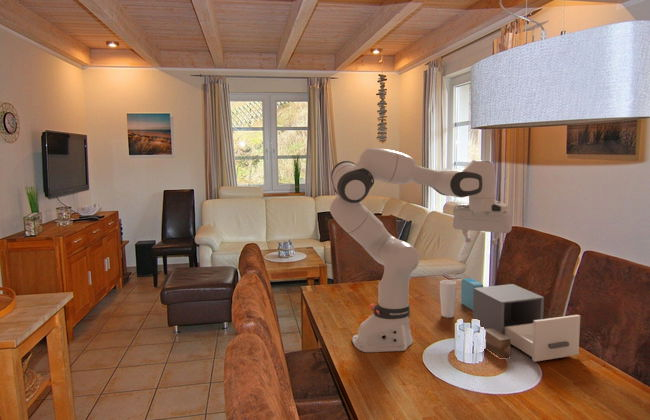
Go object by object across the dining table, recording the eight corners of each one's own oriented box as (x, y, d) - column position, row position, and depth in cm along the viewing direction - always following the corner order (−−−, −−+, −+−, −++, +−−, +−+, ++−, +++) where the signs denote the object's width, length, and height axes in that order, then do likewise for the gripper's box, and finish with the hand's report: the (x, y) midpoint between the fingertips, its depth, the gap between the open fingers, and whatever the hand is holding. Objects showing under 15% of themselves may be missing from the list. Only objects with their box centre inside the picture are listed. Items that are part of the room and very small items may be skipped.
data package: (483, 311, 200) (484, 284, 198) (473, 311, 199) (474, 285, 197) (469, 302, 211) (470, 277, 210) (460, 303, 211) (461, 278, 209)
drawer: (537, 363, 148) (538, 323, 146) (500, 340, 166) (501, 304, 164) (581, 356, 152) (583, 317, 150) (540, 334, 170) (542, 299, 168)
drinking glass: (457, 314, 196) (457, 280, 194) (454, 319, 190) (454, 285, 188) (441, 312, 199) (441, 279, 197) (438, 317, 193) (438, 283, 191)
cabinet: (500, 343, 166) (501, 302, 164) (472, 325, 183) (473, 288, 181) (542, 337, 170) (544, 297, 168) (511, 320, 187) (512, 283, 185)
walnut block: (499, 360, 153) (500, 340, 152) (482, 347, 163) (482, 329, 162) (510, 358, 154) (510, 338, 153) (492, 346, 164) (492, 327, 163)
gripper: (450, 204, 166) (450, 242, 168) (508, 207, 154) (507, 247, 156) (456, 203, 171) (455, 239, 173) (513, 205, 159) (512, 244, 161)
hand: (481, 243), depth 164 cm, fingers open, 8 cm apart
